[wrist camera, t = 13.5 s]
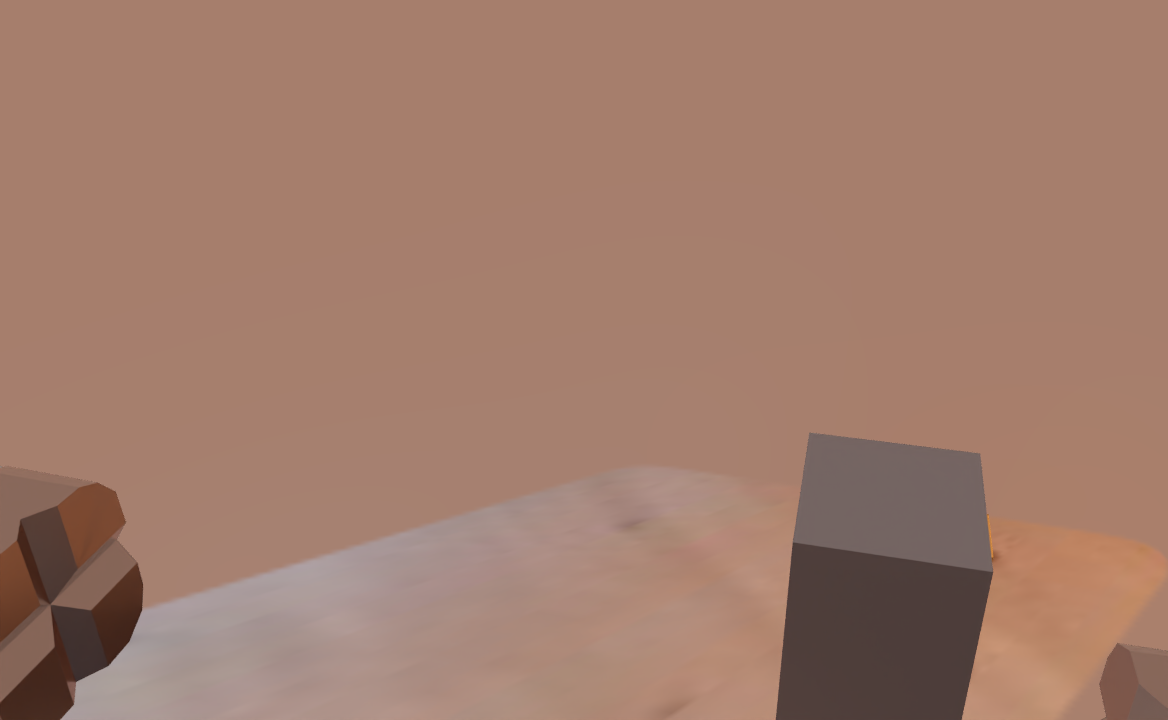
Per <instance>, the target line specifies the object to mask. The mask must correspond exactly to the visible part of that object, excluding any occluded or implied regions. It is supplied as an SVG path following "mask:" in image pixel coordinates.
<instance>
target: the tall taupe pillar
mask: <svg viewBox="0 0 1168 720" xmlns="http://www.w3.org/2000/svg"><path fill="white" fill-rule="evenodd" d="M992 562H993V549H992V541H991V532H990V523H989V514H987V512H986V503H985V494H984V485H983V476H982V467H981V458H980V454H978V453H971V452H963V451H954V450H946V449H938V448H930V447H922V446H913V445H905V444H897V443H890V442H882V441H874V440H865V439H857V438H848V437H841V436H833V435H824V434H817V433H809V439H808V446H807V452H806V459H805V466H804V472H803V479H802V485H801V492H800V499H799V505H798V512H797V518H796V525H795V532H794V538H793V546H792V557H791V567H790V577H789V588H788V598H787V609H786V619H785V630H784V640H783V651H782V661H781V672H780V682H779V693H778V703H777V713H776V720H962V715H963V710H964V706H965V701H966V696H967V692H968V687H969V682H970V678H971V673H972V668H973V664H974V659H975V654H976V650H977V645H978V640H979V635H980V631H981V626H982V621H983V617H984V612H985V607H986V603H987V598H988V593H989V589H990V584H991V579H992V575H993V567H992Z"/></svg>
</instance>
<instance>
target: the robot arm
mask: <svg viewBox="0 0 1168 720" xmlns="http://www.w3.org/2000/svg"><path fill="white" fill-rule="evenodd" d="M125 523H126V521H125V518H124V515H123V512H122V509H121V506H120V503H119V500H118V497H117V494H116V492H115V491H113V490H111V489H109V488H107V487H105V486H103V485H101V484H99V483H97V482H92V481H86V480H80V479H75V478H69V477H64V476H59V475H53V474H48V473H43V472H37V471H32V470H27V469H21V468H16V467H10V466H4V467H2V466H0V720H60V719H61V718H62V717H63V716H64V715H65V714H66V713H67V712H68V710H69V709H70V708H71V707H72V706H73V705H74V699H75V688H76V682H77V681H79V680H81V679H83V678H85V677H87V676H89V675H91V674H93V673H95V672H97V671H99V670H101V669H103V668H105V667H107V666H109V665H110V664H111V662H112V661H113V660H114V659H115V658H116V657H117V655H118V654H119V653H120V652H121V651H122V650H123V648H124V647H125V646H126V645H127V644H128V642H129V641H130V639H131V636H132V634H133V631H134V629H135V626H136V624H137V622H138V619H139V617H140V614H141V612H142V602H143V582H142V578H141V575H140V571H139V567H138V563H137V562H136V560H135V559H134V558H133V557H132V556H131V555H130V554H129V553H128V552H127V550H126V549H125V548H124V547H123V546H122V545H121V544H120V543H119V541H117V538H118V537H119V535H120V533H121V531H122V529H123V527H124V525H125ZM1099 685H1100V690H1101V694H1102V699H1103V703H1104V708H1105V713H1106V717H1105V718H1103V719H1102V720H1168V651H1166V650H1159V649H1153V648H1146V647H1139V646H1133V645H1127V644H1120V643H1117V645H1116V646H1115V648H1114V649H1113V651H1112V652H1111V653H1110V655H1109V656H1108V658H1107V662H1106V665H1105V668H1104V671H1103V674H1102V677H1101V680H1100V683H1099Z"/></svg>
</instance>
